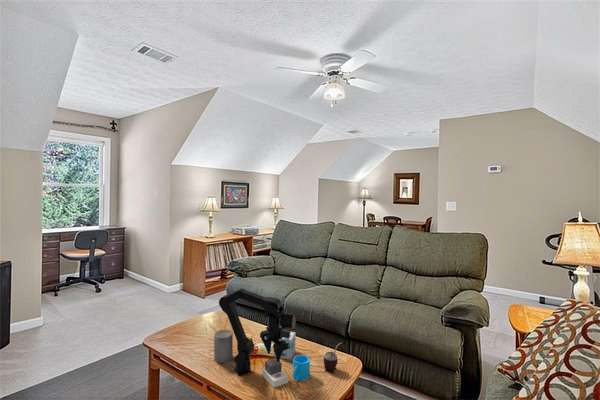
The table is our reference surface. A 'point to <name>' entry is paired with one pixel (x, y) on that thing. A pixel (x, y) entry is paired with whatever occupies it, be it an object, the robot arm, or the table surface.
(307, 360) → the mug
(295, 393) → the table surface
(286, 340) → the light bulb box
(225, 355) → the pillar candle
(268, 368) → the plug
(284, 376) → the socket
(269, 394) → the table surface
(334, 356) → the mate gourd
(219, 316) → the table surface
